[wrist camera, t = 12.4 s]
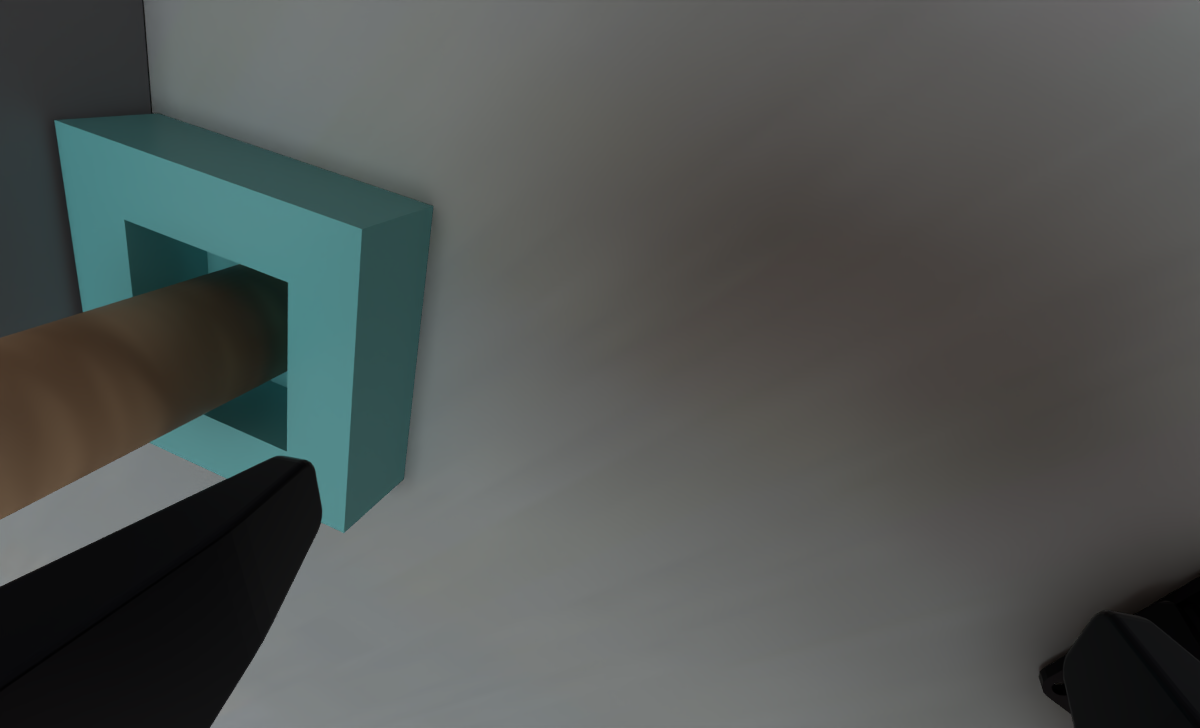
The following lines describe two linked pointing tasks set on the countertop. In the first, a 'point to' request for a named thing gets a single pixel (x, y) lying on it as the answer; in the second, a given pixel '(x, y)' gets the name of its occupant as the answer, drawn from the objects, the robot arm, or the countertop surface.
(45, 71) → the backstop wall
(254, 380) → the dowel
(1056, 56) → the countertop surface
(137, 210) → the socket block
